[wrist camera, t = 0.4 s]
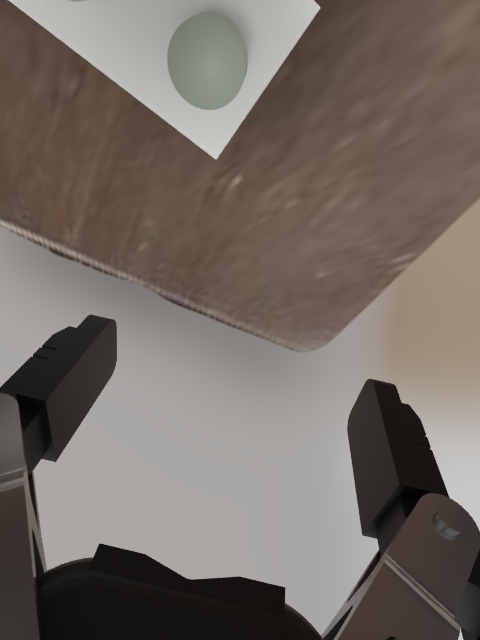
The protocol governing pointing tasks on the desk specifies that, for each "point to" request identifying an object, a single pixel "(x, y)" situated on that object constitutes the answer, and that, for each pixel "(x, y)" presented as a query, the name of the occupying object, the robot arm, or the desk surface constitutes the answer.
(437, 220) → the desk surface
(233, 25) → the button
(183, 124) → the button panel
